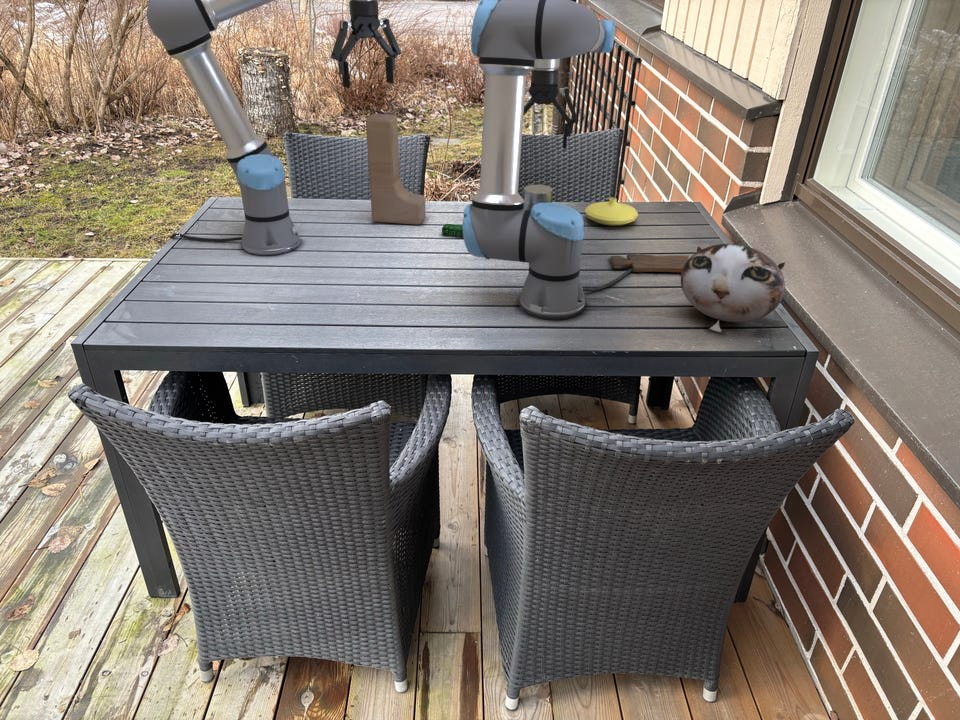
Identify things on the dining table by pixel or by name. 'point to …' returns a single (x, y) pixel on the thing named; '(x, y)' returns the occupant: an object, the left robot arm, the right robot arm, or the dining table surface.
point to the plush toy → (732, 283)
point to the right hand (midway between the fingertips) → (540, 147)
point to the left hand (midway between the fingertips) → (368, 85)
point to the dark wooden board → (650, 263)
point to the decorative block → (389, 175)
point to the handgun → (452, 230)
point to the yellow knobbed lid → (611, 213)
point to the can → (536, 195)
